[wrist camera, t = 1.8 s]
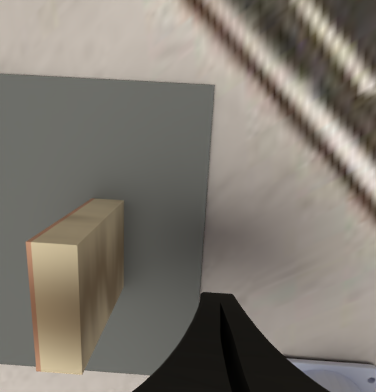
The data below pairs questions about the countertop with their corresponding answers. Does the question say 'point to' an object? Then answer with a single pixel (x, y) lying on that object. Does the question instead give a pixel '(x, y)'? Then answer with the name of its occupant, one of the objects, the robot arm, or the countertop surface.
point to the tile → (75, 283)
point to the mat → (107, 189)
